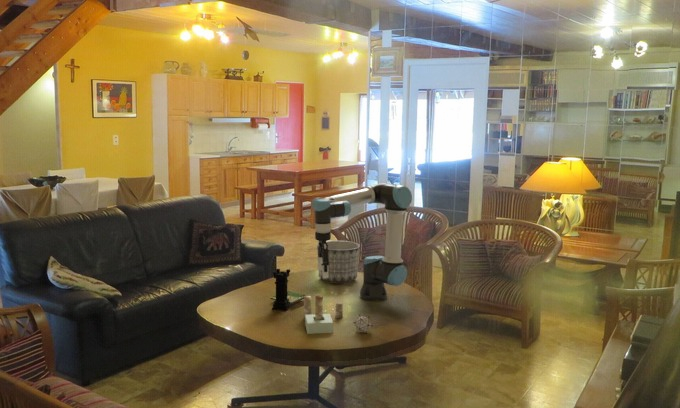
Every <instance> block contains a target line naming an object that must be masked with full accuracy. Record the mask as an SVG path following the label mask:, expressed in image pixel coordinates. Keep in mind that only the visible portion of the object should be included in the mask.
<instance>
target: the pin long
mask: <svg viewBox="0 0 680 408" xmlns="http://www.w3.org/2000/svg"><path fill="white" fill-rule="evenodd" d="M314 298H315V299H314V300H315V301H314V302H315V303H314V304H315V305H314V307H315V308H314V309H315V312H314V313H315V321H317V320H323V314H324V313H323V311H324V310H323V309H324V308H323V306H324V305H323V304H324V302H323V301H324V296H323V295H322V294H321V295H320V294H316V295H315V297H314Z"/></svg>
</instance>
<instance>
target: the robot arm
mask: <svg viewBox="0 0 680 408" xmlns="http://www.w3.org/2000/svg"><path fill="white" fill-rule="evenodd" d="M412 200H413V195H412V191H411V190H410V189H409V187H407V186H406V185H402V184H397V183H390V182H381V183H376V184H372V185H367V186H365V187H364V188H363V189H359V190H354V191H350V192H344V193H340V194H335V195H331V196H327V197H314V199H313V200H312V201H311V208H312V210H313V211H314V224H313V227H314V228H315V229H314V231H315V232H314V239H315V241H317V242H318V243H317V244H318V253H317V265H318V266H317V270H318V269H319V270H322V274H323V278H328V265H329V258H328V244H327V242H326V241H331V239H332V236H331V235H332V234H331V233H332V232H331V231H332V229H331V228H332V225H331V224H332V219H335V218H340V217H341V218H342V217H343V218H344V217H347V216H349V215H350V213H351V211H352V207H354V206H359V205H363V204H369V205H371V204H380V205H384V210H385V211H386V213H387V214H386V229H385V244H384V245H385V246H384V256H383V255H371V256H370V255H369V256H366V257H365V258H364V259H363V284H362V286H361V289H360V291H359V292H360V293H359V298H361V299H362V300H365V301H371V302H372V301H373V302H378V301H384V300H386V299H387V298H388V292H387V288H386V285H389V286H393V287H398V286H399V287H400V286H401V285H402V284H403V283H404V282H405V280H406V278H407V275H408V269H407V267H406V266H405V265H404V260H403V258H402V257H401V256H402V241H403V240H402V239H403V229H404V228H403V226H404V214H405V213H406V212H407V210H408V208H409V207H410V205H411V204H412ZM385 284H386V285H385Z"/></svg>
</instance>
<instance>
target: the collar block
mask: <svg viewBox="0 0 680 408" xmlns="http://www.w3.org/2000/svg"><path fill="white" fill-rule="evenodd" d="M333 321H334V320H333V319H332V316H331V313H323V320H317V321H315V314H313V313H311V315H305V319H304V325H305V329H306V333H307V335H308V334H309V335H311V334H312V335H313V334H331V333H334V322H333Z"/></svg>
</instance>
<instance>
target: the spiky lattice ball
mask: <svg viewBox="0 0 680 408" xmlns="http://www.w3.org/2000/svg"><path fill="white" fill-rule="evenodd" d="M358 316H359V317H357V319H356V320H355V321H353V322H352V324H354V325H355V327H356V328H355V329H356V333H358V332H360V333H361V332H362V333H365V334H366V335H367V334H368V333H367V332H368V331H369V330H370V328H371V327H373V326H374V325H373V324H372V323H371V320H370V316H369V315H368V317H367V316H363V315H361V314H360V313H359V315H358Z"/></svg>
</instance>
